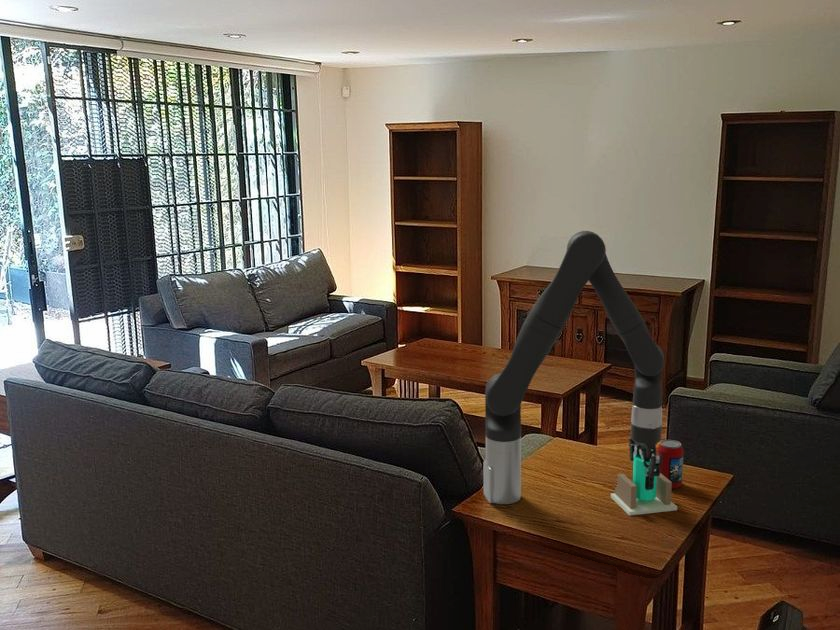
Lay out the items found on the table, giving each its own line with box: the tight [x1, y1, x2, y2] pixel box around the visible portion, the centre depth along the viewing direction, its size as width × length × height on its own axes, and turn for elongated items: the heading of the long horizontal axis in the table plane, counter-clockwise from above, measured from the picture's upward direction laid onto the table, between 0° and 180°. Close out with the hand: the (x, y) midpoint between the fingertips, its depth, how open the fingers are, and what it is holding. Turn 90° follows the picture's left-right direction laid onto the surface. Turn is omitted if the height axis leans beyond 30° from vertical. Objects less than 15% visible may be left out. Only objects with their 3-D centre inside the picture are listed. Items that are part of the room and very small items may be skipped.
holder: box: [610, 473, 678, 516], centre depth 205 cm, size 13×11×7 cm
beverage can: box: [656, 439, 685, 490], centre depth 216 cm, size 7×7×12 cm
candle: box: [632, 455, 657, 500], centre depth 204 cm, size 6×6×12 cm
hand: (643, 484), depth 205 cm, fingers closed on candle, 5 cm apart
